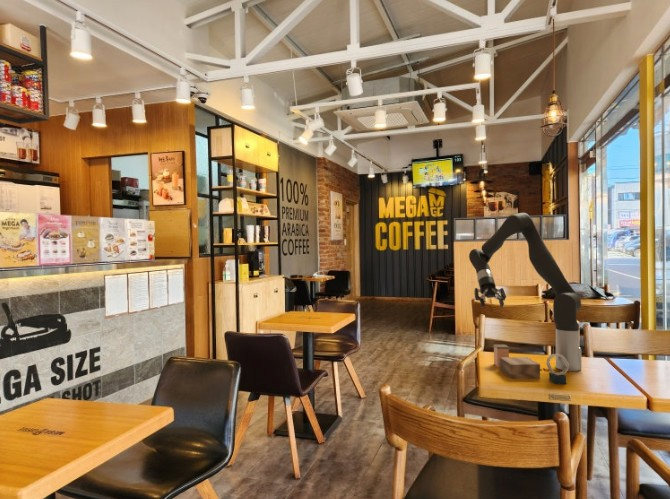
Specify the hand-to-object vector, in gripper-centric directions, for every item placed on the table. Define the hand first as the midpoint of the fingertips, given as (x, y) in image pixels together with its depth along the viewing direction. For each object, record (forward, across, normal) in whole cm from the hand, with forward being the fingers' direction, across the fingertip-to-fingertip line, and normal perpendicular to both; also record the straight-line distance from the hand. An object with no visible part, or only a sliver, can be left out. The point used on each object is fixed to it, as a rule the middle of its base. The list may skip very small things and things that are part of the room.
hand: (493, 306), depth 217 cm
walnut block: (+36, +3, 0) cm, 36 cm away
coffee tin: (+26, 0, +10) cm, 28 cm away
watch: (+44, +14, -8) cm, 47 cm away
